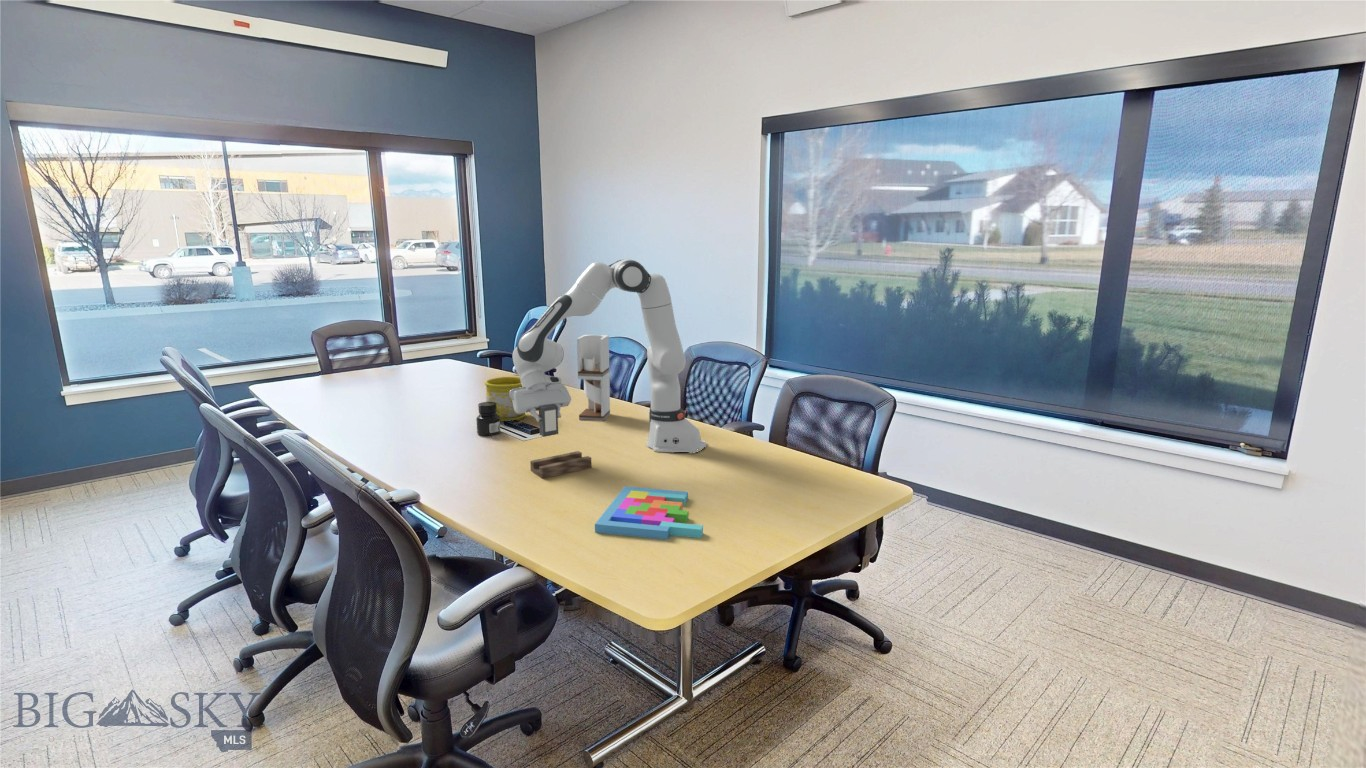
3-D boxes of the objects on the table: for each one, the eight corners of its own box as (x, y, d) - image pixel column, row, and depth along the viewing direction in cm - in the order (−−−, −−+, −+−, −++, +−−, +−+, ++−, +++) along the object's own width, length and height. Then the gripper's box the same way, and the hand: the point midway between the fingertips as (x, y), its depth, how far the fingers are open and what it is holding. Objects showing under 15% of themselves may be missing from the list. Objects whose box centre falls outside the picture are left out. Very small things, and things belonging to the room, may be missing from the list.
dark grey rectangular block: (539, 434, 226) (538, 406, 223) (554, 431, 229) (553, 404, 227) (543, 436, 223) (542, 408, 221) (558, 434, 226) (557, 405, 224)
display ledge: (578, 460, 230) (578, 450, 229) (591, 467, 223) (591, 457, 222) (530, 470, 220) (530, 460, 219) (542, 478, 213) (542, 468, 212)
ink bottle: (496, 436, 257) (494, 406, 254) (473, 436, 257) (471, 406, 254) (503, 429, 266) (502, 400, 264) (481, 429, 266) (480, 400, 264)
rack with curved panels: (586, 413, 292) (584, 334, 285) (610, 414, 291) (608, 335, 284) (579, 419, 281) (577, 338, 274) (603, 421, 280) (601, 339, 272)
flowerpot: (524, 424, 274) (522, 385, 271) (481, 423, 275) (478, 385, 271) (534, 412, 292) (532, 376, 289) (493, 412, 292) (491, 376, 289)
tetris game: (595, 533, 174) (699, 544, 169) (594, 524, 174) (699, 534, 168) (625, 494, 201) (715, 502, 196) (625, 486, 201) (716, 494, 195)
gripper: (509, 384, 221) (522, 418, 216) (564, 377, 233) (578, 409, 228) (505, 394, 226) (518, 428, 220) (559, 387, 238) (572, 419, 232)
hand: (549, 418), depth 224 cm, fingers closed on dark grey rectangular block, 5 cm apart
